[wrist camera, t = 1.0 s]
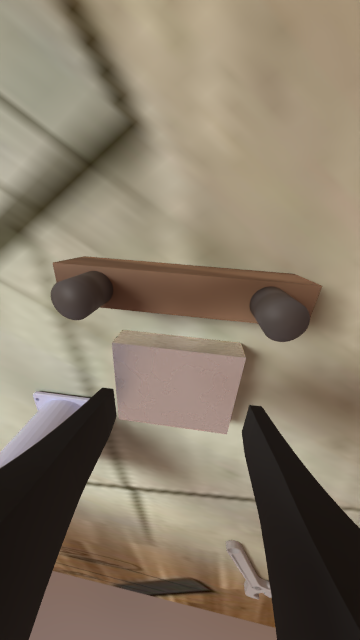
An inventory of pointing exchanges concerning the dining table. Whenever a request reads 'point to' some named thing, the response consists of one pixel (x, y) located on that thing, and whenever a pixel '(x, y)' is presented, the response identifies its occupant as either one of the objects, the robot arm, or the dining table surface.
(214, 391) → the plate
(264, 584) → the adjustable wrench
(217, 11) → the dining table surface
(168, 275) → the stop rail
